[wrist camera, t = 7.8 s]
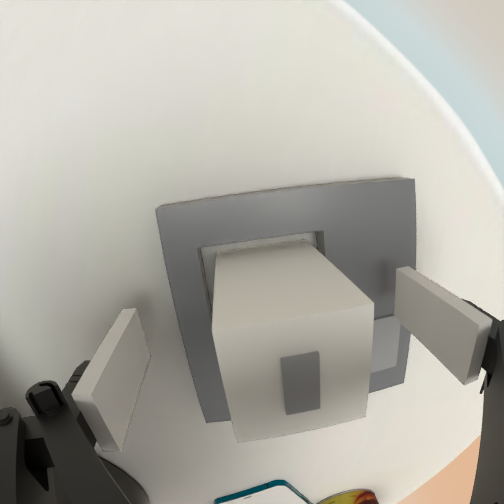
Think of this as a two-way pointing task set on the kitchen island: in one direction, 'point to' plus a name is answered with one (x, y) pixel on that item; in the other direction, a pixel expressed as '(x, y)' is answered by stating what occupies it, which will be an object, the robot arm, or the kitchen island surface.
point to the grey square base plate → (328, 244)
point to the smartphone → (266, 495)
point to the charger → (290, 340)
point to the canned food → (352, 497)
